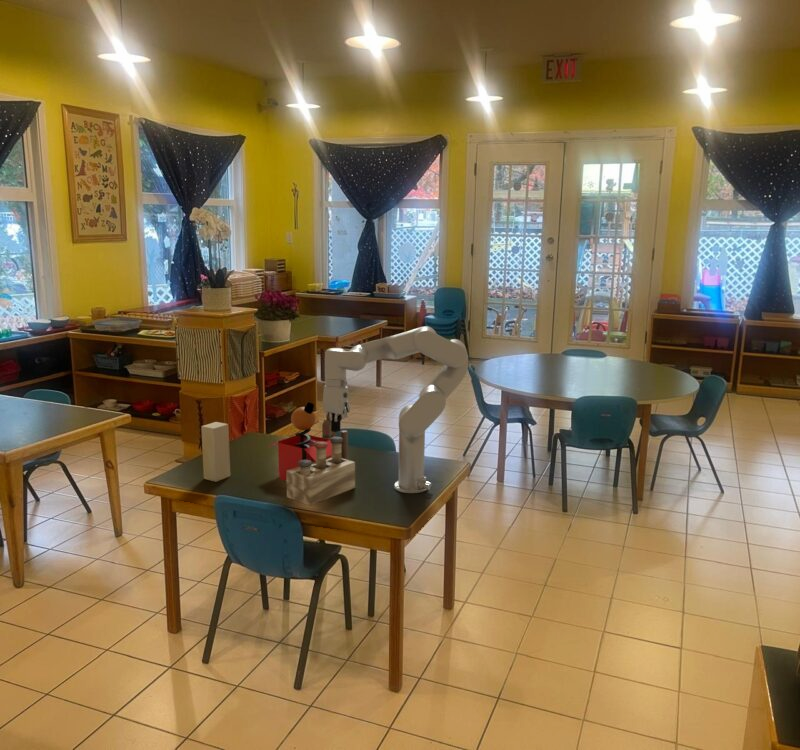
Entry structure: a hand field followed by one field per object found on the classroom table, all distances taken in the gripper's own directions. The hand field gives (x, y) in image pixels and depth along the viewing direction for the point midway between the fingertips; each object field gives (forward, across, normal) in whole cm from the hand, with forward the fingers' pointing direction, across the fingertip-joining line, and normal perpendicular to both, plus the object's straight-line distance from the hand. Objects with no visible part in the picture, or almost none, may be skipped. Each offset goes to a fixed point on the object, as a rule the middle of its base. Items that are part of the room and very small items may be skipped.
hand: (335, 430), depth 270 cm
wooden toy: (+22, +18, -17) cm, 33 cm away
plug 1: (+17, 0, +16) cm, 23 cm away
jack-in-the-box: (+22, +17, 0) cm, 28 cm away
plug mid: (+12, 0, +8) cm, 14 cm away
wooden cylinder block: (+22, 0, +8) cm, 23 cm away
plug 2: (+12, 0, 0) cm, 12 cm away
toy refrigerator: (+22, +42, +23) cm, 52 cm away
